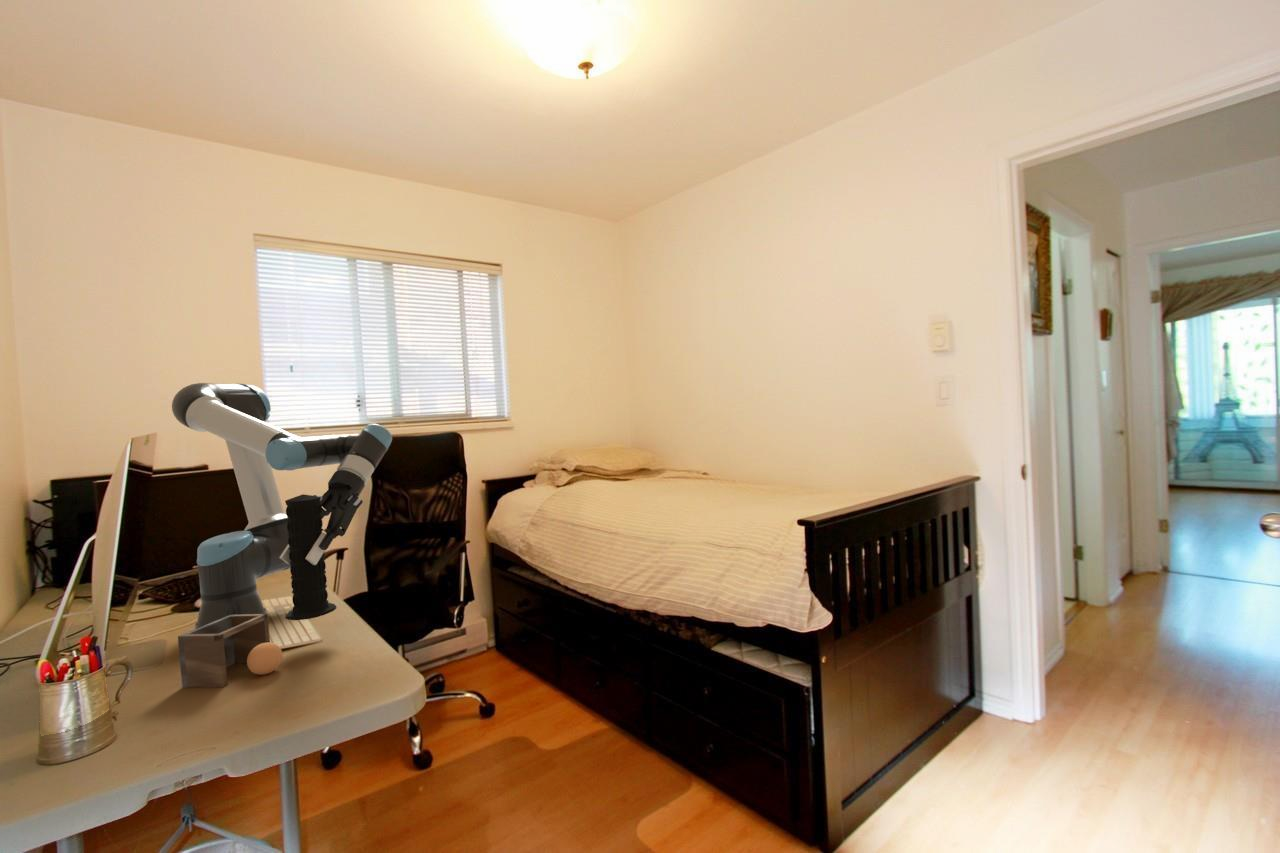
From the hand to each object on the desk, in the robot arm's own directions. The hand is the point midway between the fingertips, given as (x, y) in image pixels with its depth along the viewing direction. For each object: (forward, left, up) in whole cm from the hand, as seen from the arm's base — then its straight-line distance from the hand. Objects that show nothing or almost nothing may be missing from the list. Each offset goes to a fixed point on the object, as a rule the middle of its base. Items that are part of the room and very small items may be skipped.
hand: (297, 561), depth 127 cm
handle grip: (-3, 0, -12) cm, 13 cm away
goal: (+11, -8, -20) cm, 24 cm away
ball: (+11, 0, -17) cm, 20 cm away
